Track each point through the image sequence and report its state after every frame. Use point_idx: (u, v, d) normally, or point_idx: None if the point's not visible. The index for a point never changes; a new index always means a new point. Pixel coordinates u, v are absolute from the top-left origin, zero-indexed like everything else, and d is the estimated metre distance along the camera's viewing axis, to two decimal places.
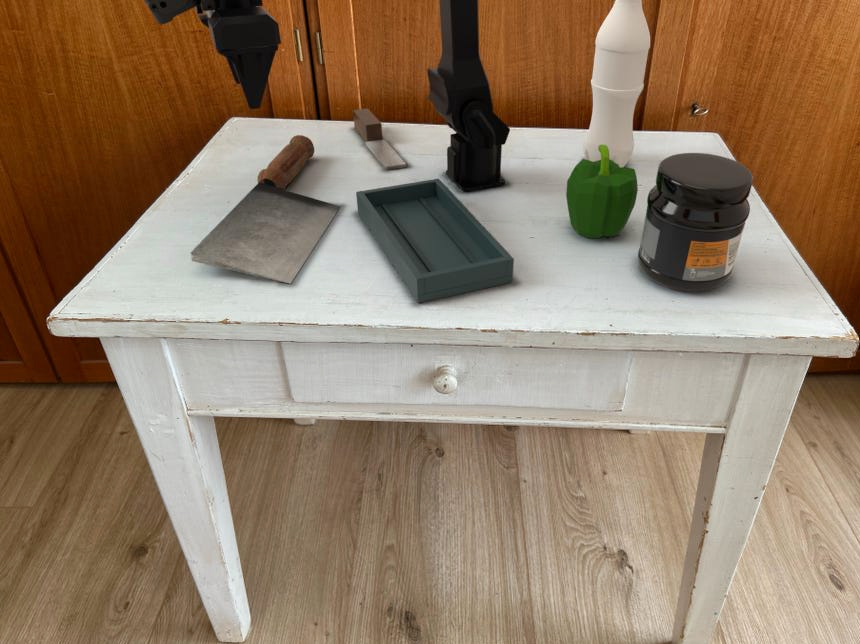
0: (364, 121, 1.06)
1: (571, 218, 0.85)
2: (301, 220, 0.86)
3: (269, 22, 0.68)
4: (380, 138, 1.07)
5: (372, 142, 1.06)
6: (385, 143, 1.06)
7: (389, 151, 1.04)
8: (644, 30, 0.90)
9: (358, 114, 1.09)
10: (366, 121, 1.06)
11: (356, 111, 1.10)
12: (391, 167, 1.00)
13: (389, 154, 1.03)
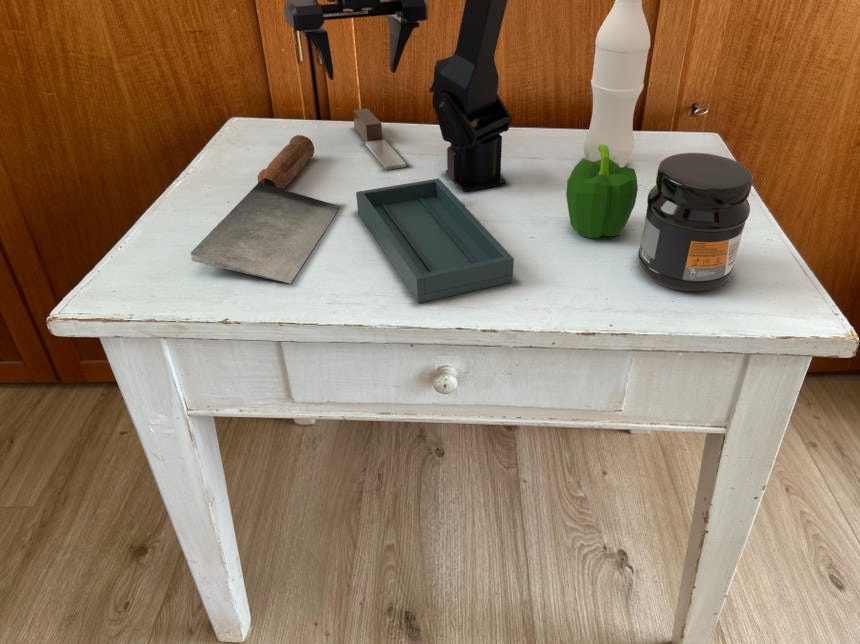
0: (364, 121, 1.06)
1: (571, 218, 0.85)
2: (301, 220, 0.86)
3: (292, 12, 0.91)
4: (380, 138, 1.07)
5: (372, 142, 1.06)
6: (385, 143, 1.06)
7: (389, 151, 1.04)
8: (644, 30, 0.90)
9: (358, 114, 1.09)
10: (366, 121, 1.06)
11: (356, 111, 1.10)
12: (391, 167, 1.00)
13: (389, 154, 1.03)
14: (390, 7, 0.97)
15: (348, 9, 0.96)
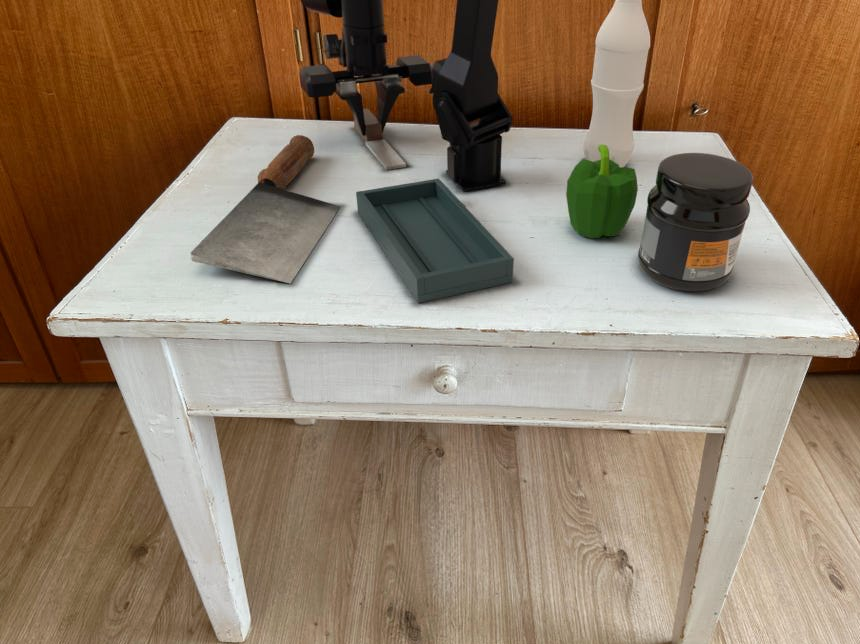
0: None
1: (571, 218, 0.85)
2: (301, 220, 0.86)
3: (307, 80, 0.97)
4: (380, 138, 1.07)
5: (372, 142, 1.06)
6: (385, 143, 1.06)
7: (389, 151, 1.04)
8: (644, 30, 0.90)
9: None
10: (366, 121, 1.06)
11: None
12: (391, 167, 1.00)
13: (389, 154, 1.03)
14: (398, 72, 1.04)
15: None
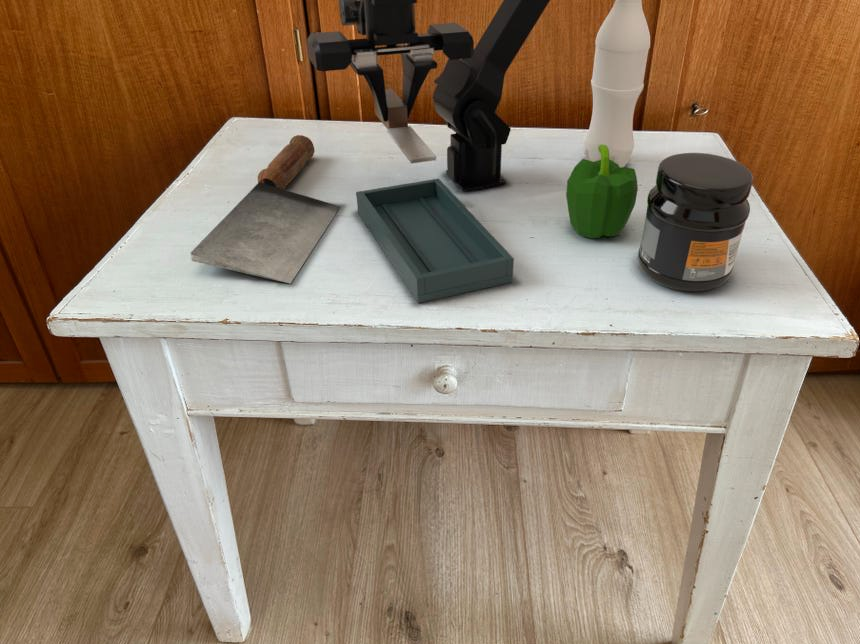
0: None
1: (571, 218, 0.85)
2: (301, 220, 0.86)
3: (315, 49, 0.77)
4: (405, 124, 0.87)
5: (395, 129, 0.86)
6: (411, 131, 0.86)
7: (416, 140, 0.84)
8: (644, 30, 0.90)
9: None
10: (388, 103, 0.86)
11: None
12: (417, 160, 0.80)
13: (415, 144, 0.83)
14: (430, 43, 0.83)
15: None
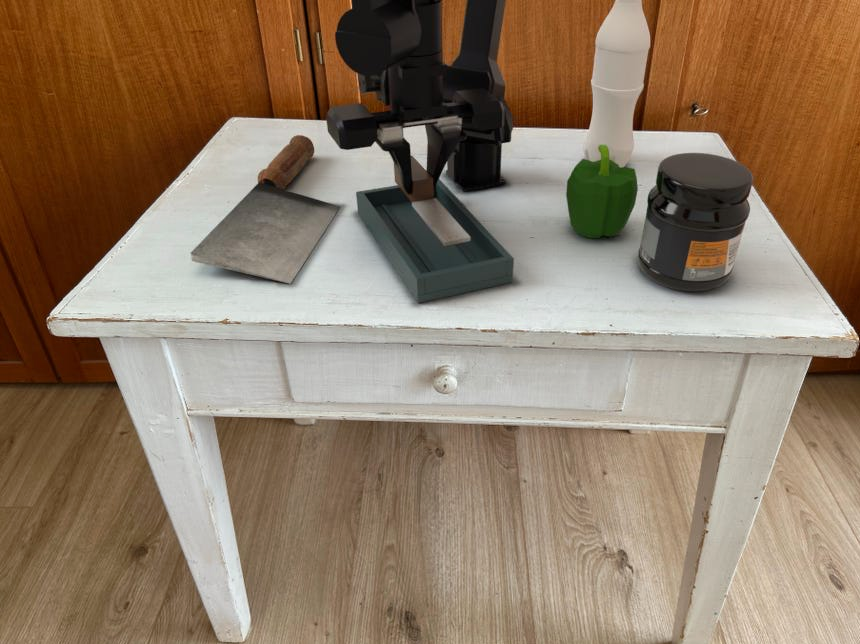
0: None
1: (571, 218, 0.85)
2: (301, 220, 0.86)
3: (338, 127, 0.71)
4: (431, 197, 0.81)
5: (421, 203, 0.80)
6: (438, 204, 0.80)
7: (446, 217, 0.78)
8: (644, 30, 0.90)
9: None
10: (412, 174, 0.80)
11: None
12: (451, 242, 0.74)
13: (446, 222, 0.77)
14: (458, 112, 0.78)
15: None
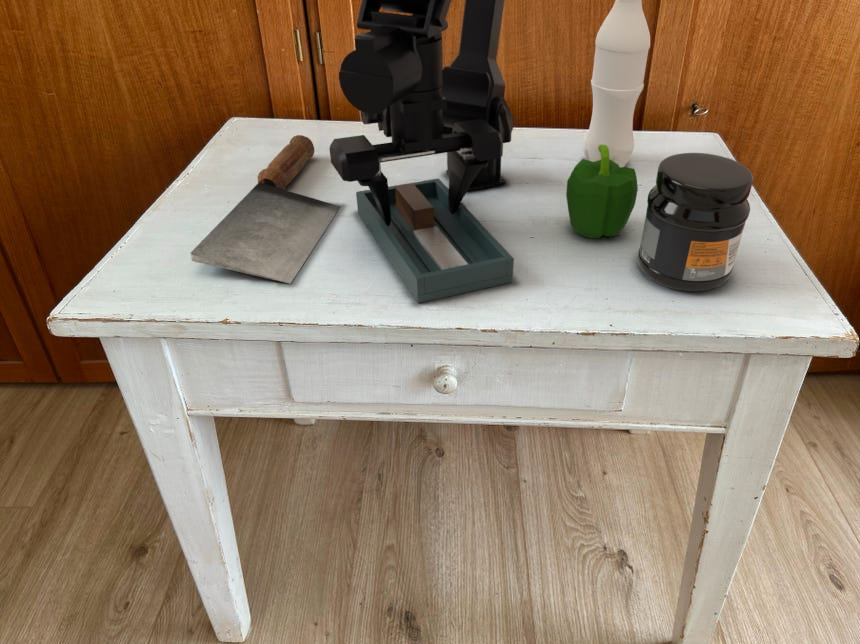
0: (411, 204, 0.83)
1: (571, 218, 0.85)
2: (301, 220, 0.86)
3: (341, 160, 0.73)
4: (431, 225, 0.83)
5: (422, 231, 0.83)
6: (438, 233, 0.82)
7: (446, 246, 0.80)
8: (644, 30, 0.90)
9: (402, 193, 0.85)
10: (414, 204, 0.83)
11: (399, 188, 0.86)
12: None
13: (446, 251, 0.79)
14: (457, 143, 0.80)
15: None
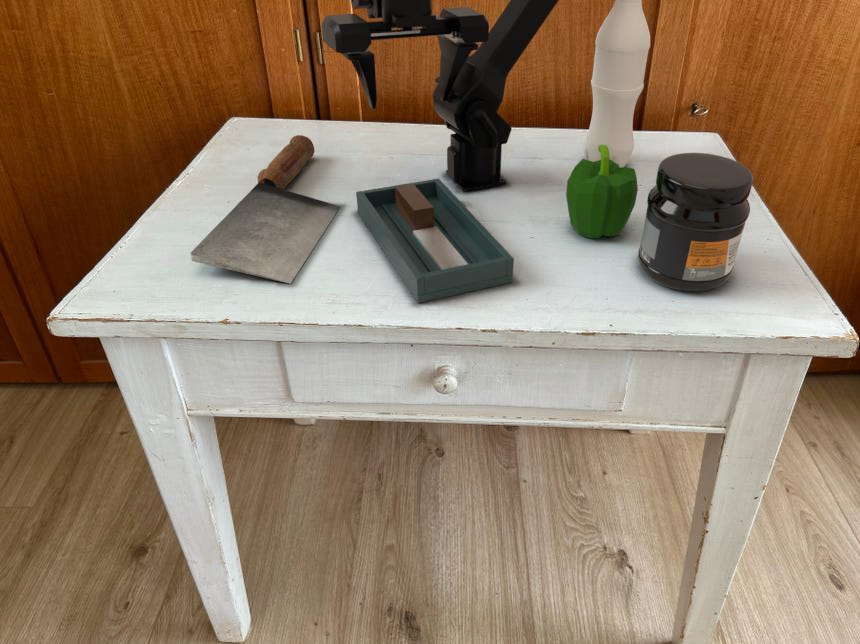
0: (411, 204, 0.83)
1: (571, 218, 0.85)
2: (301, 220, 0.86)
3: (334, 31, 0.76)
4: (431, 225, 0.83)
5: (422, 231, 0.83)
6: (438, 233, 0.82)
7: (446, 246, 0.80)
8: (644, 30, 0.90)
9: (402, 193, 0.85)
10: (414, 204, 0.83)
11: (399, 188, 0.86)
12: None
13: (446, 251, 0.79)
14: (445, 26, 0.83)
15: (396, 27, 0.82)
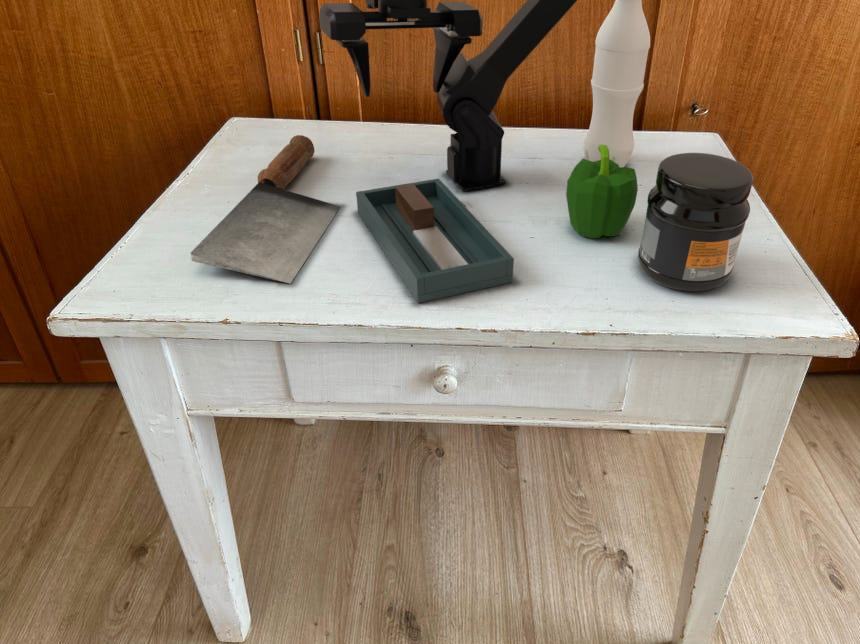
0: (411, 204, 0.83)
1: (571, 218, 0.85)
2: (301, 220, 0.86)
3: (330, 18, 0.78)
4: (431, 225, 0.83)
5: (422, 231, 0.83)
6: (438, 233, 0.82)
7: (446, 246, 0.80)
8: (644, 30, 0.90)
9: (402, 193, 0.85)
10: (414, 204, 0.83)
11: (399, 188, 0.86)
12: None
13: (446, 251, 0.79)
14: (440, 19, 0.85)
15: (392, 18, 0.84)
